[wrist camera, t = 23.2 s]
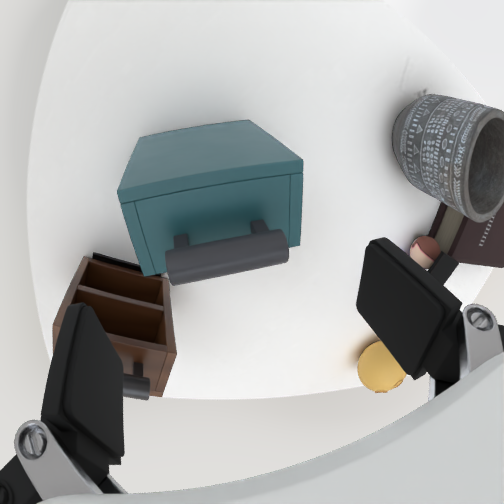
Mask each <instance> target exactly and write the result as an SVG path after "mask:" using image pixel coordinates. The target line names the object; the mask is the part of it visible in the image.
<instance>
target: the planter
mask: <svg viewBox="0 0 504 504" xmlns="http://www.w3.org/2000/svg"><path fill="white" fill-rule="evenodd" d="M392 143H393V149H394V152H395V155H396V157H397V160H398V162H399V164H400V166H401V168H402V170H403V172H404V174H405V176H406V177H407V179H408V180H409V182H410V183H411V184H412V185H414V186H415V187H416V188H418V189H420V190H421V191H423V192H425V193H427V194H429V195H430V196H432V197H434V198H437V199H438V200H440V201H441V202H443V203H445V204H446V205H448V206H449V207H451V208H453V209H455V210H456V211H458V212H460V213H462V214H464V215H465V216H467V217H468V218H470V219H471V220H473V221H475V222H479V223H480V222H485V221H487V220H489V219H490V218H492V217H493V216H494V215H495V214H496V213H497V212H498V210H499V209H500V207H501V206H502V204H503V203H504V112H503V111H502V110H499V109H496V108H493V107H489V106H486V105H482V104H479V103H474V102H470V101H466V100H461V99H456V98H452V97H448V96H443V95H435V94H429V95H425V96H422V97H420V98H419V99H417V100H415V101H414V102H412V103H411V104H410V105H409V106H407V107H406V108H405V109H404V110H403V111H402V112H401V113H400V114H399V116H398V117H397V119H396V121H395V124H394V128H393V133H392Z"/></svg>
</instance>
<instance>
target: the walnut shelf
mask: <svg viewBox="0 0 504 504" xmlns="http://www.w3.org/2000/svg"><path fill="white" fill-rule="evenodd" d="M77 303H85V304H86V305H87V306H91V307H92V308H93V310H94V312H95V314H96V316H97V318H98V320H99V321H100V323H101V325H102V327H103V329H104V331H105V333H106V334H107V336H108V338H109V340H110V341H111V343H112V345H113V347H114V348H115V350H116V352H117V353H118V355H119V357H120V358H121V360H122V363H123V369H124V371H123V396H124V397H130V398H135V399H141V400H148V399H149V396H156V397H162V395H163V392H164V389H165V386H166V384H167V381H168V378H169V375H170V372H171V369H172V367H173V364H174V361H175V358H176V355H177V350H176V343H175V335H174V327H173V319H172V309H171V300H170V289H169V279H165V278H161V277H158V276H154V275H150V276H144V275H143V273H142V272H139V271H135V270H131V269H127V268H124V267H120V266H116V265H113V264H109V263H106V262H102V261H99V260H95V259H92V258H88V257H85V256H84V257H83V259H82V261H81V263H80V265H79V267H78V269H77V271H76V273H75V275H74V277H73V279H72V281H71V283H70V286H69V288H68V290H67V292H66V294H65V297H64V299H63V301H62V303H61V306H60V308H59V310H58V313H57V315H56V318H55V320H54V323H53V353H54V349H55V345H56V342H57V338H58V335H59V331H60V328H61V324H62V321H63V318H64V315H65V312H66V309H67V307H68V306H69V305H72V304H77Z"/></svg>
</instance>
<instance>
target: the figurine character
mask: <svg viewBox="0 0 504 504" xmlns="http://www.w3.org/2000/svg"><path fill="white" fill-rule="evenodd" d="M410 257H411V258H412V259H413V260H415V261H416V262H417V263H418V264H419V265H420V266H422V267H423V268H424V269H429V270H428V271H427V272H429V273H430V274H431V275H432V276H433V277H434V278H435V279H437V280H438V281H439V282H440V283H441V284H442V285H444V283H445V282H446V281H447V279H448V278H449V277H450V275H451V274H452V272H453V271H454V270H455V268H456V267H457V265H458V264H459V263H458V262H457V261H456V260H455V259H453V258H452V257H450V256H449V255H447V254H446V253H444V252H443V251H441V253H440V247H439V245H438V243H437V241H436V240H435V239H433V238H432V237H429V236H421V237H419V238H417V239H416V240H415V241H414V242H413V243H412V245H411V248H410Z"/></svg>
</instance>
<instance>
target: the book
mask: <svg viewBox="0 0 504 504" xmlns="http://www.w3.org/2000/svg"><path fill="white" fill-rule="evenodd" d="M428 236H429V237H432V238H433V239H435V240H436V241H437V243H438V245H439V247H440V253H441V251H443V252H444V253H446V254H447V255H449V256H450V257H452V258H453V259H455V260H456V261H457V262H458V263H467V264H475V265H483V266H491V267H498V268H503V267H504V203H503V204H502V206H501V207H500V209H499V210H498V212H497V213H496V214H495V215H494V216H493V217H492V218H490V219H489V220H487V221H485V222H480V223H479V222H475V221H473V220H471V219H470V218H468V217H467V216H465V215H464V214H462V213H460V212H458V211H456V210H455V209H453V208H451V207H449V206H448V205H446V204H445V203H443V202H441V205H440V207H439V210H438V212H437V215H436V217H435V220H434V222H433V225H432V227H431V230H430V232H429V234H428Z"/></svg>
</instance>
